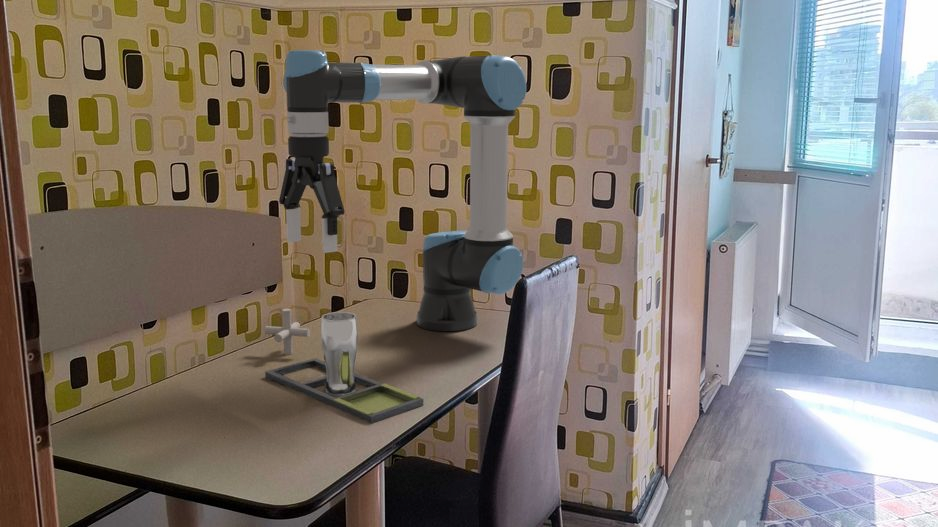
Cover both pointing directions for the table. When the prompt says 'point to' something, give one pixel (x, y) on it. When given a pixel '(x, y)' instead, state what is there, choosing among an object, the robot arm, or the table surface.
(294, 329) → the pipe connector
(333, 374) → the beer glass
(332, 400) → the grey flat frame
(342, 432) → the table surface
